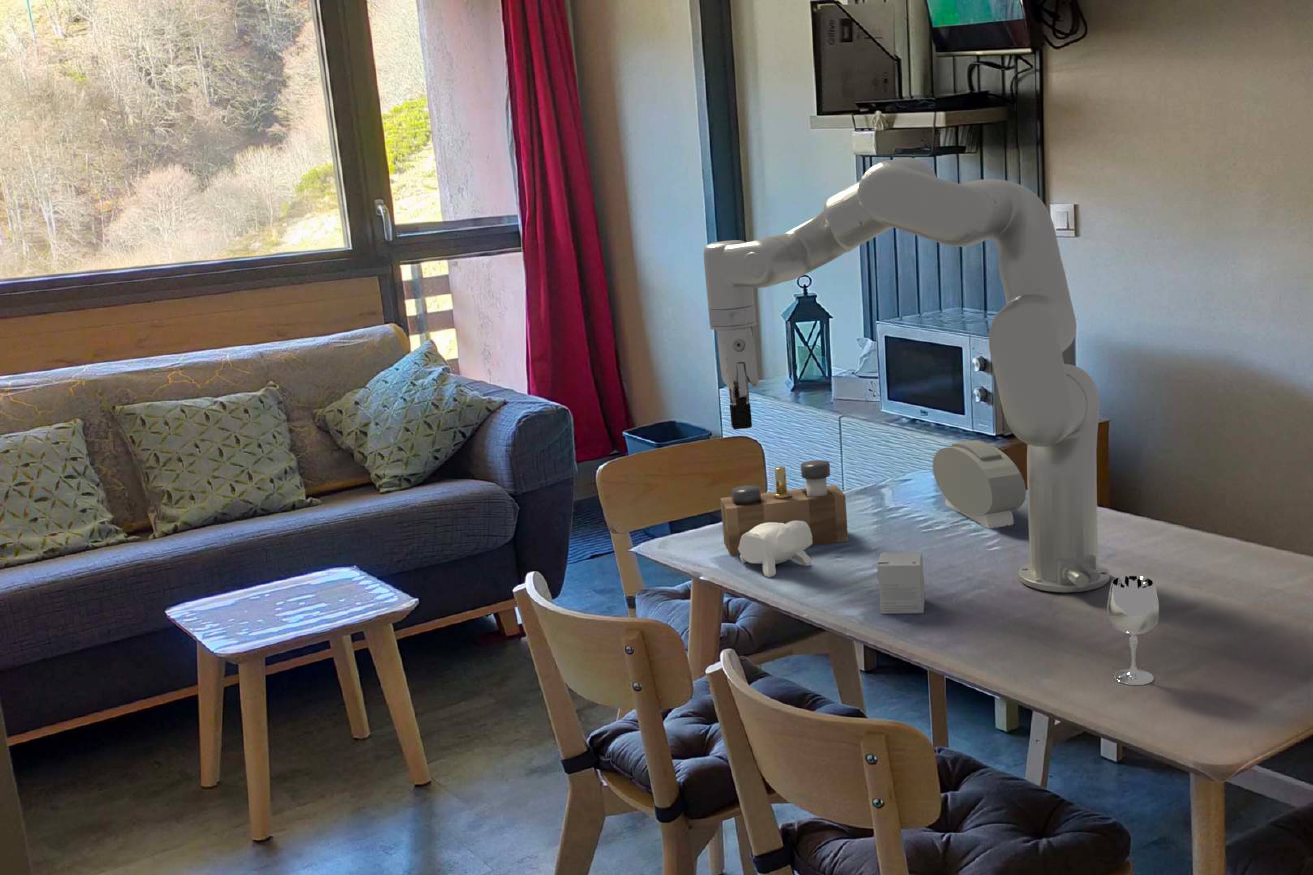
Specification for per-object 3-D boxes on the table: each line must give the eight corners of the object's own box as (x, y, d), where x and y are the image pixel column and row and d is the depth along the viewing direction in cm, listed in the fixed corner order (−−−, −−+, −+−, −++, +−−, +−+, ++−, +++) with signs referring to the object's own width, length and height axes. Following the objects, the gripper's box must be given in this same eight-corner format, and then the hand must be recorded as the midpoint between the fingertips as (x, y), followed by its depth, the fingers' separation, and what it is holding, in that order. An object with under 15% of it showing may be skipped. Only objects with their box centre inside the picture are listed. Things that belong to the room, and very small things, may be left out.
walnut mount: (848, 541, 214) (845, 495, 212) (730, 555, 213) (726, 508, 211) (838, 529, 221) (835, 484, 219) (724, 542, 219) (720, 498, 218)
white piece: (741, 584, 207) (790, 571, 194) (726, 534, 208) (774, 518, 195) (783, 572, 211) (834, 558, 198) (768, 522, 212) (818, 506, 199)
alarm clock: (1028, 529, 212) (1025, 454, 209) (993, 534, 211) (991, 459, 208) (965, 496, 234) (962, 428, 231) (934, 500, 233) (930, 432, 230)
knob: (835, 517, 214) (832, 465, 212) (807, 520, 214) (804, 468, 212) (829, 510, 219) (825, 459, 217) (801, 513, 218) (798, 462, 217)
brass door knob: (792, 497, 214) (790, 469, 213) (774, 499, 213) (772, 471, 212) (789, 493, 217) (786, 464, 216) (771, 495, 216) (769, 466, 215)
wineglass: (1107, 685, 151) (1105, 589, 148) (1109, 666, 156) (1107, 573, 154) (1159, 688, 149) (1159, 591, 146) (1159, 669, 154) (1158, 574, 152)
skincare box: (925, 599, 185) (923, 550, 183) (923, 614, 179) (921, 564, 177) (882, 599, 186) (880, 551, 184) (879, 614, 180) (876, 564, 179)
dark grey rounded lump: (766, 542, 214) (762, 491, 212) (738, 546, 214) (733, 494, 212) (761, 534, 219) (757, 484, 217) (733, 538, 218) (729, 487, 216)
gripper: (763, 320, 201) (772, 434, 205) (747, 310, 215) (756, 416, 219) (715, 325, 200) (726, 439, 204) (703, 315, 215) (713, 421, 219)
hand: (741, 427), depth 212 cm, fingers closed
